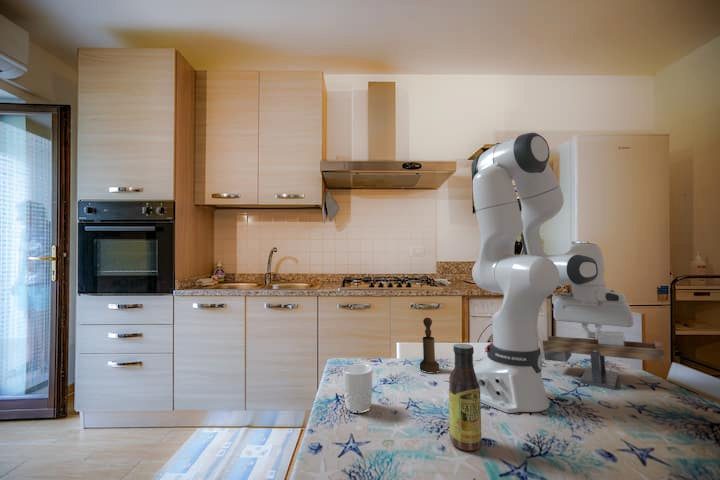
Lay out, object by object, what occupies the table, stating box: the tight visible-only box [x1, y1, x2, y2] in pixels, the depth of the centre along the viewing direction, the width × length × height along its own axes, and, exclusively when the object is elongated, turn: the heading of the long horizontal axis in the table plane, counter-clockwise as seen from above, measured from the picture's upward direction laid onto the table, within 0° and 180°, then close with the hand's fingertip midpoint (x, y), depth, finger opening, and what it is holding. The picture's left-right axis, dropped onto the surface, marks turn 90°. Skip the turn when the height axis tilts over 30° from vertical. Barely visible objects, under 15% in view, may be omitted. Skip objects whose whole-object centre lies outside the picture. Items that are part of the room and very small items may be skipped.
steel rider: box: [597, 330, 626, 347], centre depth 94 cm, size 6×6×4 cm
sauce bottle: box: [448, 343, 482, 452], centre depth 65 cm, size 7×6×20 cm
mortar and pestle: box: [419, 317, 440, 372], centre depth 108 cm, size 7×6×18 cm
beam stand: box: [579, 351, 619, 390], centre depth 96 cm, size 8×14×10 cm, turn 137°
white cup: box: [342, 363, 373, 411], centre depth 81 cm, size 8×8×10 cm
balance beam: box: [542, 335, 666, 363], centre depth 96 cm, size 29×10×7 cm, turn 47°
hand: (592, 338), depth 97 cm, fingers closed
